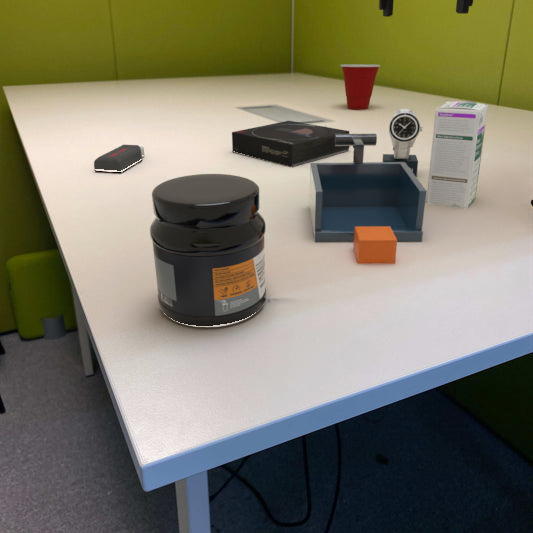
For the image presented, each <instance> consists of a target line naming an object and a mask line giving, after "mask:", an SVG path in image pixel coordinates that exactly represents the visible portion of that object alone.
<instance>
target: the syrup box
mask: <svg viewBox="0 0 533 533" xmlns="http://www.w3.org/2000/svg"><path fill="white" fill-rule="evenodd" d="M488 108H489V105H488V103H485V102H478V101H470V100H469V101H468V100H455V101H446V102H445V103H444V104H441V105H440V106H437V107H436V108H435V111H434V112H435V114H434V123H433V132H432V140H431V141H432V143H431V150H430V162H429V172H428V182H427V190H426V191H427V192H426V200H425V204H430V205H438V206H443V207H450V208H457V209H464V210H468V209H469V207H471V205H472V204H473V203H474V201H475V199H476V197H477V190H478V181H479V174H480V169H481V168H480V167H481V160H482V153H483V148H484V147H483V146H484V140H485V139H484V137H485V130H486V122H487V115H488V110H489V109H488Z"/></svg>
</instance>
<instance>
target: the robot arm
mask: <svg viewBox="0 0 533 533" xmlns="http://www.w3.org/2000/svg"><path fill="white" fill-rule="evenodd" d="M394 1H395V0H378V9H379V11H382V17H385V18H386V17H389V18H390V17H392V16H393V14H394ZM473 4H474V0H456V6H455V13H457V14H459V15H460V14H462V15H463V14H465V15H467V14H468V13H469V11H470V7H472V6H473Z"/></svg>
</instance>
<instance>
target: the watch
mask: <svg viewBox="0 0 533 533" xmlns="http://www.w3.org/2000/svg"><path fill="white" fill-rule="evenodd" d="M421 132H422V133H423V126H421V123H420V120H419V119H418V118H417V115H416V113H415V111H413V109H410V108H409V109H408V108H397V109H396V111H394V113H393V116H392V118H391V120H390V122H389V124H388V133H389V136H390V140H391V143H392V151H393V153H383V154H382V161H381V162H405V163H406V164H407V166H408V167H409V168H410V170H411V171H412V172H413V174H414V175H415V176H416V177H417V175H418V167H419V160H418V158H417V155H416V154H410V153H411V148H413V147H414V145H415V143H416V139H417V138H418V136H419V134H420V133H421Z"/></svg>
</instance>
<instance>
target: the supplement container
mask: <svg viewBox="0 0 533 533" xmlns="http://www.w3.org/2000/svg"><path fill="white" fill-rule="evenodd" d="M260 199H261V198H260V187H259V185H258V184H257V183H256V182H254V181H253V180H251V179H249V178H247V177H244V176H240V175H234V174H227V173H225V174H224V173H201V174H190V175H184V176H178V177H174V178H171V179H168V180H165V181H163V182H161V183H159V184H158V185H156V186H155V187H154V189H153V190H152V191H151V201H152V209H153V211H152V212H153V214H154V216H155V218H154V219H153V220H152V222H151V224H150V227H149V237H150V240H151V242H152V250H153V258H154V268H155V276H156V277H155V278H156V286H157V303H158V306H159V308H161V309H160V310H161V312H162V311H163V312H164V313H165V314H166V315H167V316H168V317H170V318H172V319H173V320H175V321H178V322H180V323H184V324H188V325H196V326H213V325H220V324H227V323H232V322H235V321H239V320H242V319H245V318H247V317H249V316H251V315H252V314H254V313H255V312H257V311H258V310H259V309H260V308H261V307H262V308H263V306H264V305H263V304H265V303H266V297H267V287H266V260H265V259H266V257H265V256H266V255H265V254H266V253H265V252H266V251H265V234H266V220H265V219H264V217H263V216H262V215H261V213H260V212H259V211H260V208H261V206H260V204H261V200H260ZM262 308H261V309H262ZM261 309H260V310H261ZM260 310H259V311H260ZM163 312H162V313H163ZM164 313H163V314H164ZM165 314H164V315H165ZM167 316H166V317H167ZM168 317H167V318H168Z"/></svg>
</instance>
